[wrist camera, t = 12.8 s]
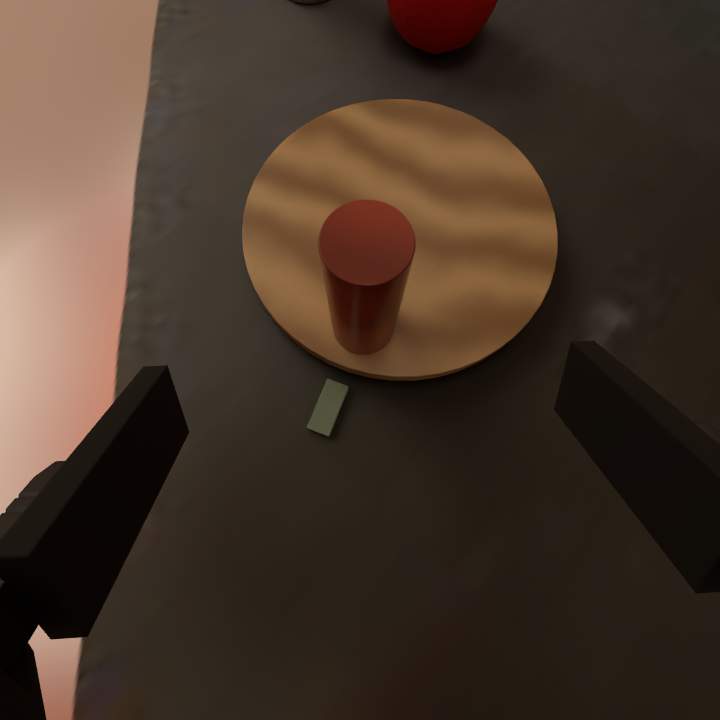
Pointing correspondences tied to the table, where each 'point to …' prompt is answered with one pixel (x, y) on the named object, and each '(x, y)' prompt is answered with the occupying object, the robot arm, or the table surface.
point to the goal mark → (328, 407)
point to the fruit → (439, 22)
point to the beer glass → (308, 1)
